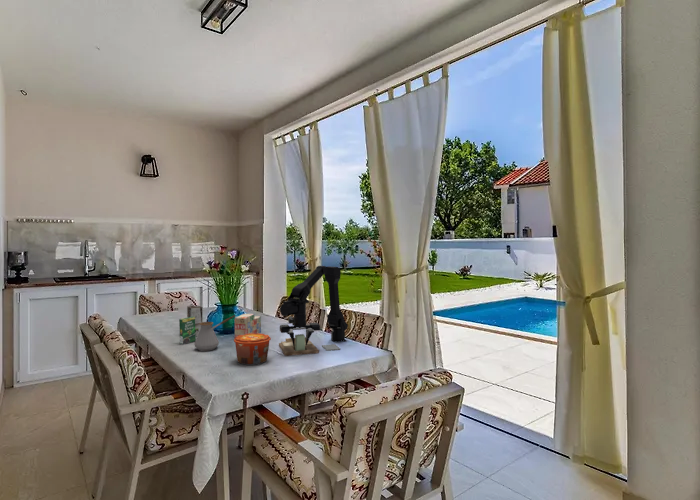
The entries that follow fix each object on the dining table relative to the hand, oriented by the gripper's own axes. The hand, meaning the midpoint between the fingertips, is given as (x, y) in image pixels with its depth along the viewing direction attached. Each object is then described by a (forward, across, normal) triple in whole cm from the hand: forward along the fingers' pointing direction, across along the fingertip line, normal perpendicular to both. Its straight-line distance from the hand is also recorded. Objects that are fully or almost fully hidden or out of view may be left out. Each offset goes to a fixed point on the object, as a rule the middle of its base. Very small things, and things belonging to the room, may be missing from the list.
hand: (300, 345), depth 205 cm
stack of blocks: (+3, +21, -41) cm, 46 cm away
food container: (+3, +23, +8) cm, 25 cm away
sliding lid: (+2, 0, -8) cm, 9 cm away
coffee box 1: (+3, +49, -52) cm, 72 cm away
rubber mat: (+3, -16, -2) cm, 16 cm away
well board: (+3, 0, -4) cm, 5 cm away
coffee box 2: (+3, +52, -35) cm, 63 cm away
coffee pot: (+3, +38, -21) cm, 44 cm away
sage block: (+3, 0, 0) cm, 3 cm away
